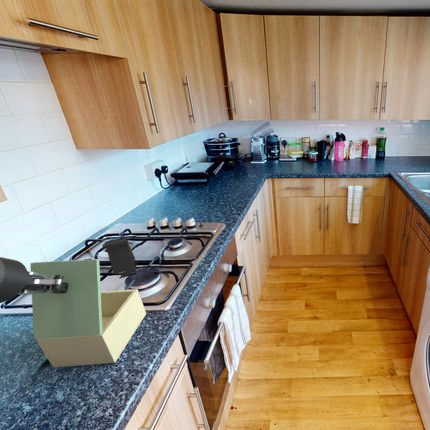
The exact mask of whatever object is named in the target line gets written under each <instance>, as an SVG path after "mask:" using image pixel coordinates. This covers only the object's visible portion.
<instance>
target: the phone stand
mask: <svg viewBox="0 0 430 430" xmlns="http://www.w3.org/2000/svg"><path fill="white" fill-rule="evenodd" d="M104 247H105V250H106V253H107V256H108V259H109V263H110V265H111V268H112V269H111V270H112V273H113V275H116V274H121V275H120V276H119V279H122V278H125V277H130V276H131V275H130V274H131V273H133V272H137V260H136V258H135V255H134V252H133V250H132V247H131V245H130V243H129V240H128V237H127V236H126V237H122V238H117V239H113V240H108V241H104ZM129 275H130V276H129Z"/></svg>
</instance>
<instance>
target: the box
mask: <svg viewBox="0 0 430 430" xmlns="http://www.w3.org/2000/svg"><path fill="white" fill-rule="evenodd" d="M101 311H102V334H101V335H91V336H77V337H63V338H49V339H36V342H37V344H38V345H39V347H40V349H41V350H42V352H43V354H44V355H45V357H46V358H47V360H48V362H49V363H50V365H51V366H52V368H53V369H54V368H66V367H80V366H92V365H93V366H94V365H103V364H105V365H107V364H115V363H116V362H117V361H118V359H119V358H120V356H121V354H122V353H123V352H124V349H125V348H126V346H127V345H128V344H129V342H130V340H131V338H132V337H133V336H134V334H135V332H136V331H137V329H138V328H139V327H140V324H141V323H142V321H143V320H144V318H146V317H145V316H146V315H147V311H146V309H145V306H144V303H143V301H142V297H141V295H140V292H139V290H138V289H137V288H134V289H117V290H101Z"/></svg>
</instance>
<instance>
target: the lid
mask: <svg viewBox="0 0 430 430" xmlns="http://www.w3.org/2000/svg"><path fill="white" fill-rule="evenodd" d="M100 269H101V267H100V258H94V259H93V258H91V259H77V260H75V259H74V260H73V259H72V260H55V261H54V260H53V261H36V262H31V263H30V272H37V273H38V274H40V275H45V276H49V279H51V278H52V276H55V275H62V276H63V281H62V282H64V283H68V289H67V292H66V293H63V294H54V293H44V294H31V306H32V307H31V309H32V329H33V330H32V331H33V340H35V341H36V340H38V339H49V338H63V337H77V336H91V335H101V334H102V311H101V291H102V289H101V270H100Z"/></svg>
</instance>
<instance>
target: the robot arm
mask: <svg viewBox="0 0 430 430" xmlns="http://www.w3.org/2000/svg"><path fill="white" fill-rule="evenodd" d="M62 281H63V276H62V275H55V276H52V278H51V279H49V276H45V275H40V274H38V273H37V272H31V271H28V270H27V267H26V265H25V264H23V262H21V261H19V260H17V259H12V258H7V257H2V256H0V304H2V303H5V302H8V301H10V300H12V299H14V298H15V297H16V296H17V295H23V296H26V295H27V296H28V295H29V296H31V295H32V294H44V293H54V294H63V293H66V292H67V289H68V283H64V282H62Z"/></svg>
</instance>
